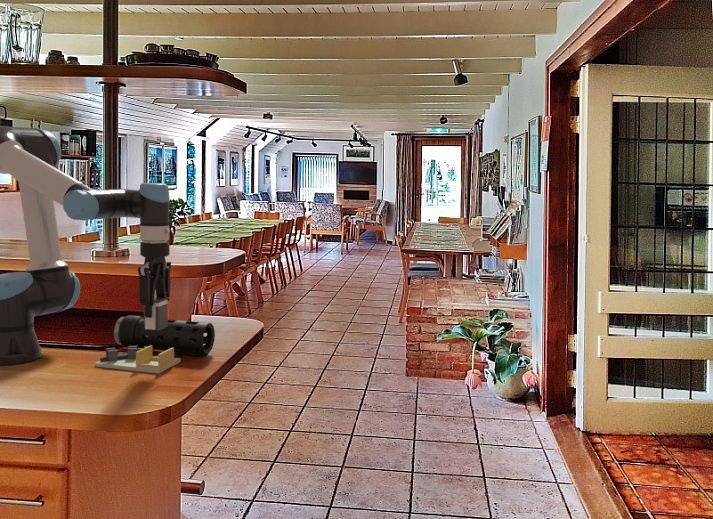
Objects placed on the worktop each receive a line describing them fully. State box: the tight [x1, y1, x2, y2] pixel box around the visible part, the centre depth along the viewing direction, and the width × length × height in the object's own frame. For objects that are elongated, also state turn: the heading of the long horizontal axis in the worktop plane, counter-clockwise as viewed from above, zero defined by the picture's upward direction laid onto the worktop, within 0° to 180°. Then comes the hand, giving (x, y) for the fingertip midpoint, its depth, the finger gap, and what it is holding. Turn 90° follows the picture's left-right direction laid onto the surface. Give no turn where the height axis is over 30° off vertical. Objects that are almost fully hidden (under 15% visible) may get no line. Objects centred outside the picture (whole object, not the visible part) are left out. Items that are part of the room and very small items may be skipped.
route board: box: [94, 346, 181, 375], centre depth 194 cm, size 19×12×4 cm, turn 77°
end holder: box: [136, 345, 175, 369], centre depth 191 cm, size 7×8×4 cm
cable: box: [99, 355, 128, 362], centre depth 195 cm, size 13×3×1 cm, turn 107°
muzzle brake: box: [113, 314, 216, 357], centre depth 207 cm, size 10×28×10 cm, turn 78°
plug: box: [143, 296, 169, 330], centre depth 190 cm, size 5×5×8 cm
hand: (155, 326), depth 190 cm, fingers closed on plug, 5 cm apart
